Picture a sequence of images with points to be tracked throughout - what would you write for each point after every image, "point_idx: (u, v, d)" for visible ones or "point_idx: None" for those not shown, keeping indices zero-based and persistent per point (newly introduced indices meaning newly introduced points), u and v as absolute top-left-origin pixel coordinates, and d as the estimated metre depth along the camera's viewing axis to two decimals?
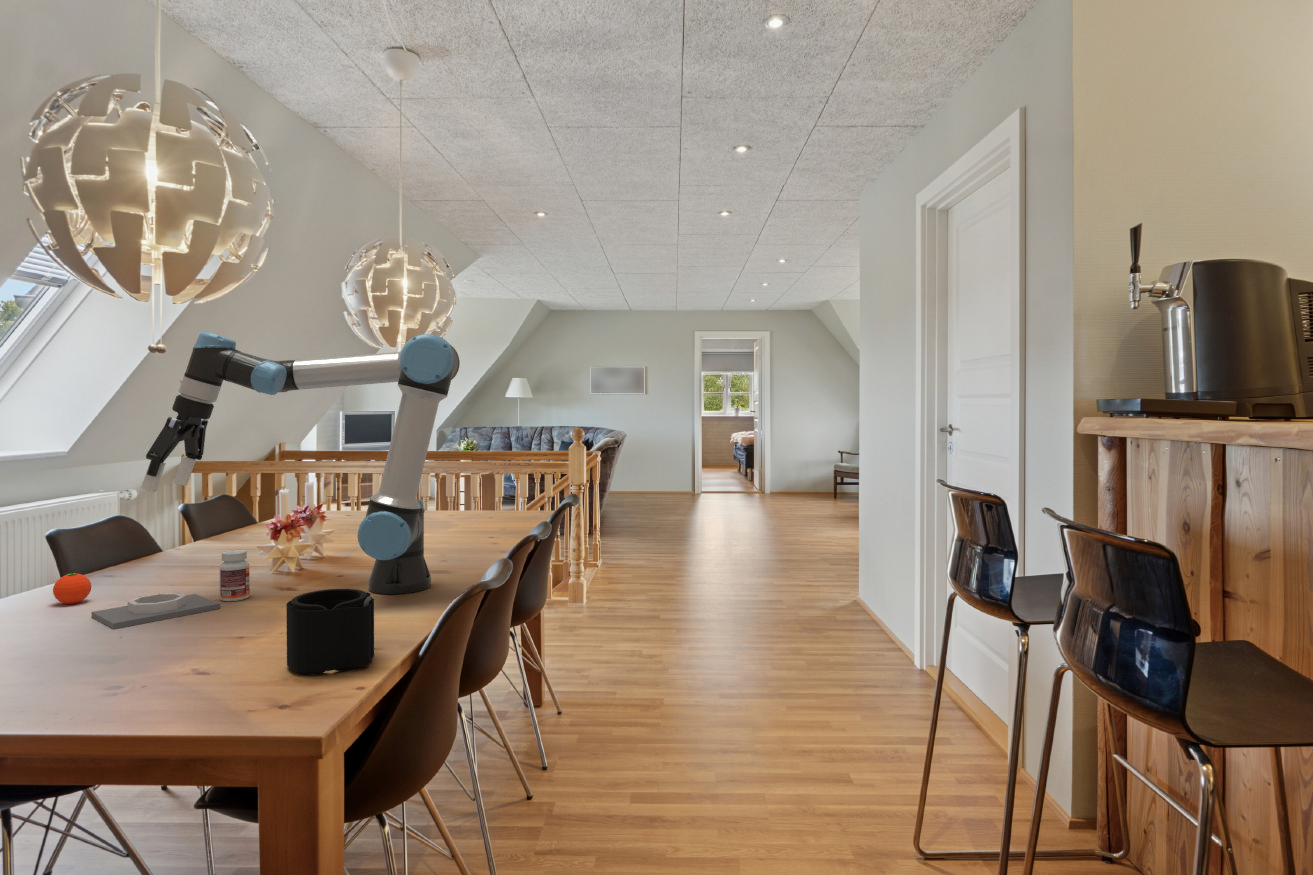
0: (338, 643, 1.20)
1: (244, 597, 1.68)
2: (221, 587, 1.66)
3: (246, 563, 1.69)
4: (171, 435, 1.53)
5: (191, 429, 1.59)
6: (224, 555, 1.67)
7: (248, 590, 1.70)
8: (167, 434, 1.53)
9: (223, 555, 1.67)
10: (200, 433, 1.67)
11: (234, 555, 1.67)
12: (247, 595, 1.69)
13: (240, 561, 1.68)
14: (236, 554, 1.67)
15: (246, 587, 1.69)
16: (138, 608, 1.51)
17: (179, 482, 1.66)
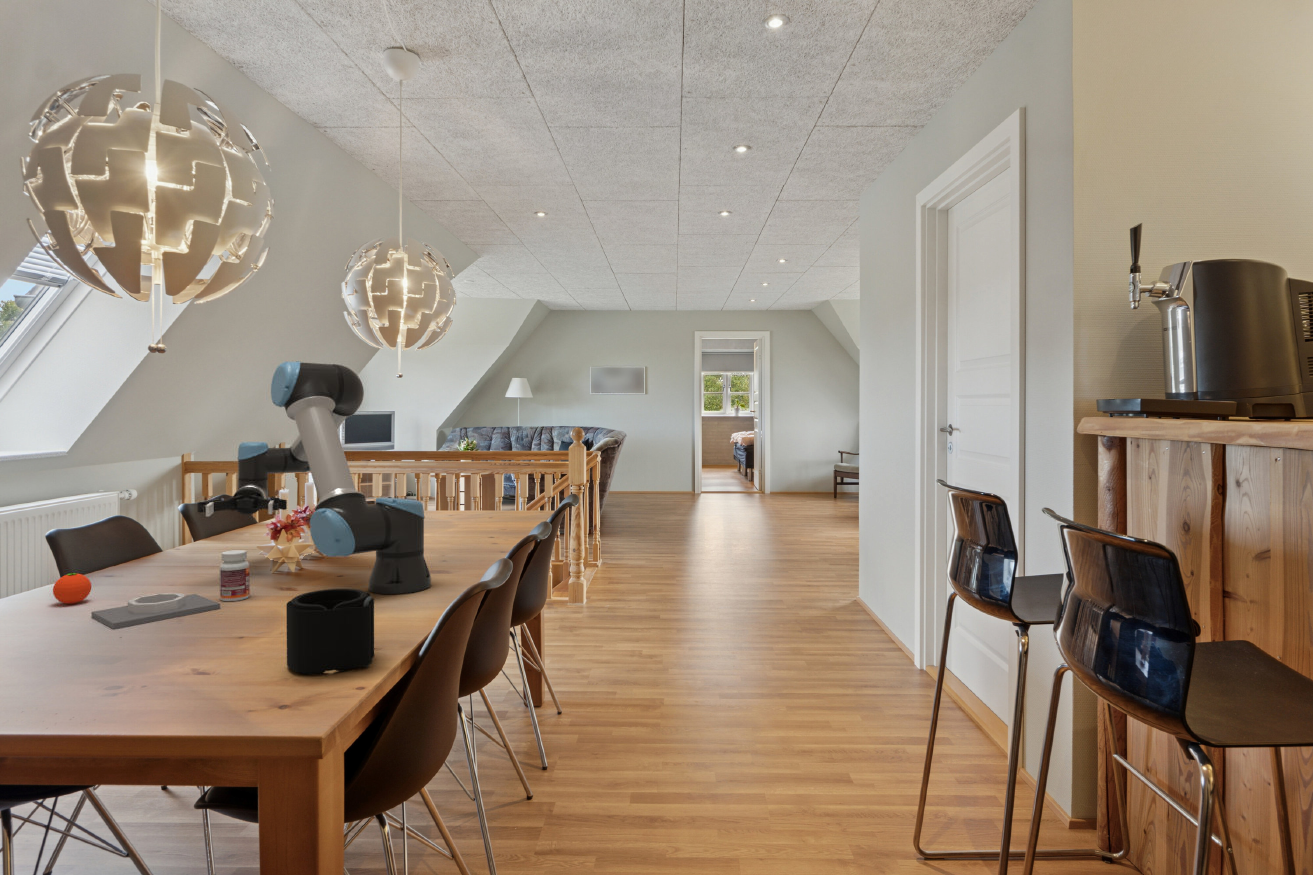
0: (338, 643, 1.20)
1: (244, 597, 1.68)
2: (221, 587, 1.66)
3: (246, 563, 1.69)
4: None
5: (238, 495, 1.89)
6: (224, 555, 1.67)
7: (248, 590, 1.70)
8: None
9: (223, 555, 1.67)
10: (272, 500, 1.91)
11: (234, 555, 1.67)
12: (247, 595, 1.69)
13: (240, 561, 1.68)
14: (236, 554, 1.67)
15: (246, 587, 1.69)
16: (138, 608, 1.51)
17: (268, 509, 1.80)
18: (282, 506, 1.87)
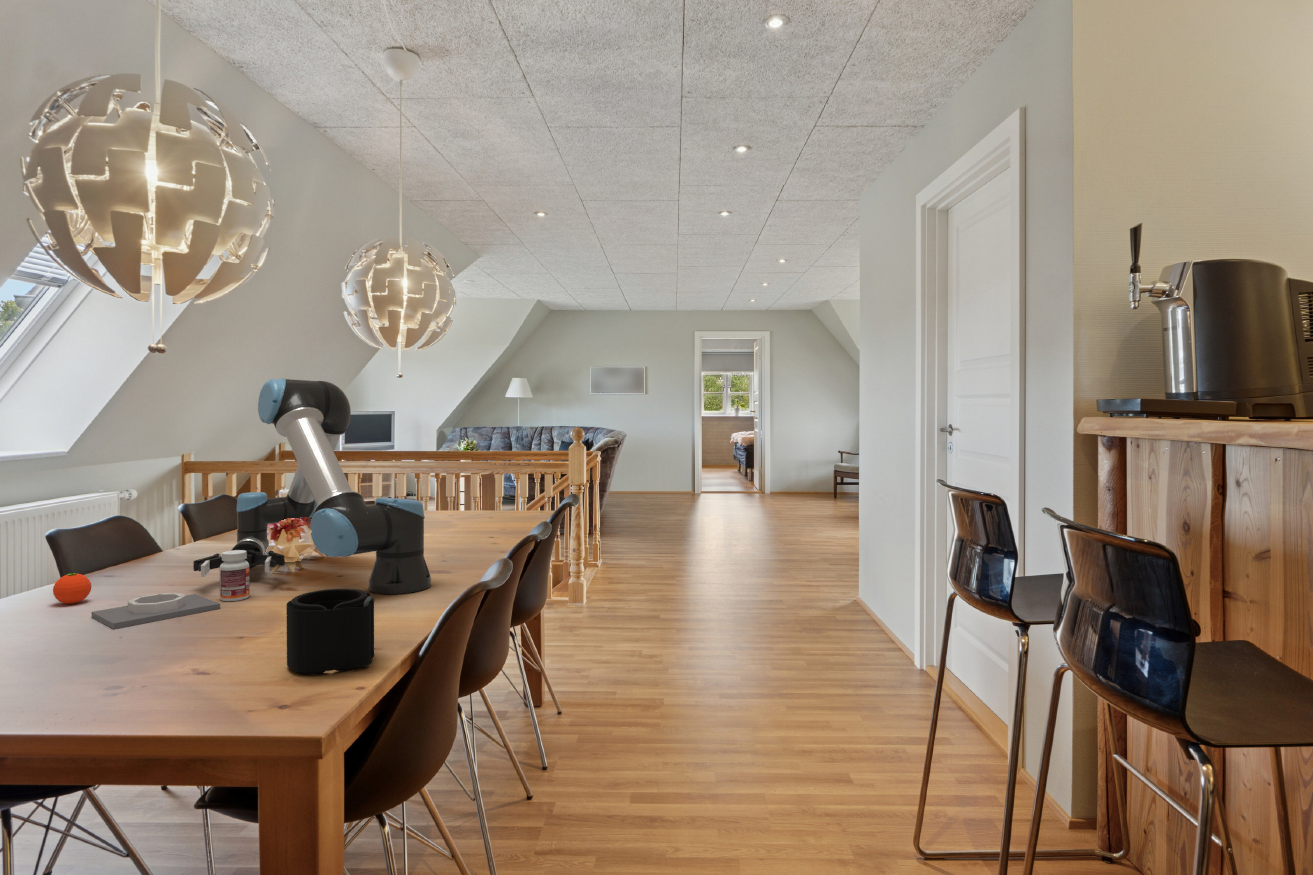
0: (338, 643, 1.20)
1: (244, 597, 1.68)
2: (221, 587, 1.66)
3: (246, 563, 1.69)
4: None
5: None
6: (224, 555, 1.67)
7: (248, 590, 1.70)
8: None
9: (223, 555, 1.67)
10: (270, 555, 1.87)
11: (234, 555, 1.67)
12: (247, 595, 1.69)
13: (240, 561, 1.68)
14: (236, 554, 1.67)
15: (246, 587, 1.69)
16: (138, 608, 1.51)
17: (265, 567, 1.76)
18: (280, 562, 1.83)
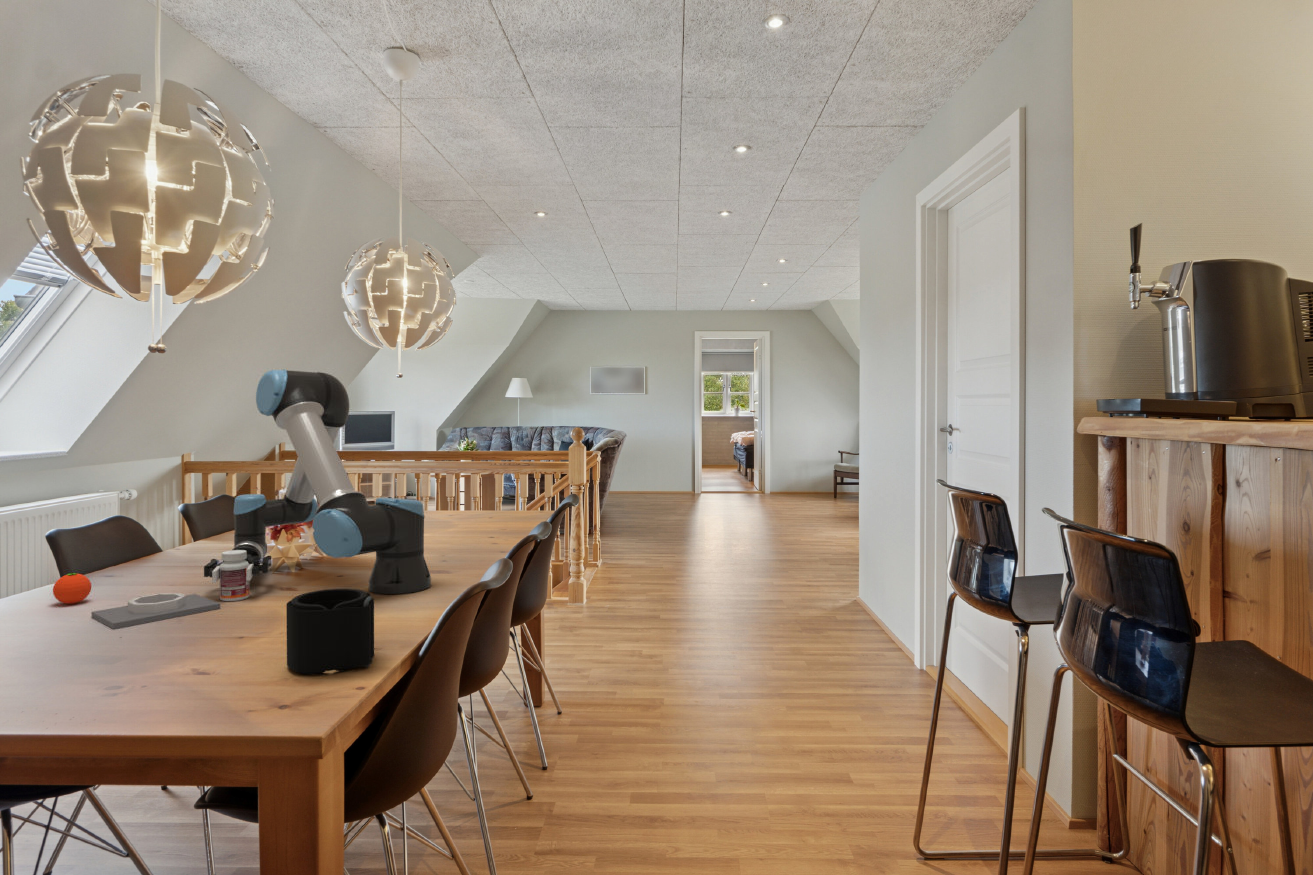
0: (338, 643, 1.20)
1: (244, 597, 1.68)
2: (221, 586, 1.66)
3: (246, 563, 1.69)
4: (210, 562, 1.74)
5: None
6: (224, 555, 1.67)
7: (248, 590, 1.70)
8: None
9: (223, 555, 1.67)
10: None
11: (234, 555, 1.67)
12: (247, 595, 1.69)
13: (240, 561, 1.68)
14: (236, 554, 1.67)
15: (246, 587, 1.69)
16: (138, 608, 1.51)
17: None
18: (262, 569, 1.73)
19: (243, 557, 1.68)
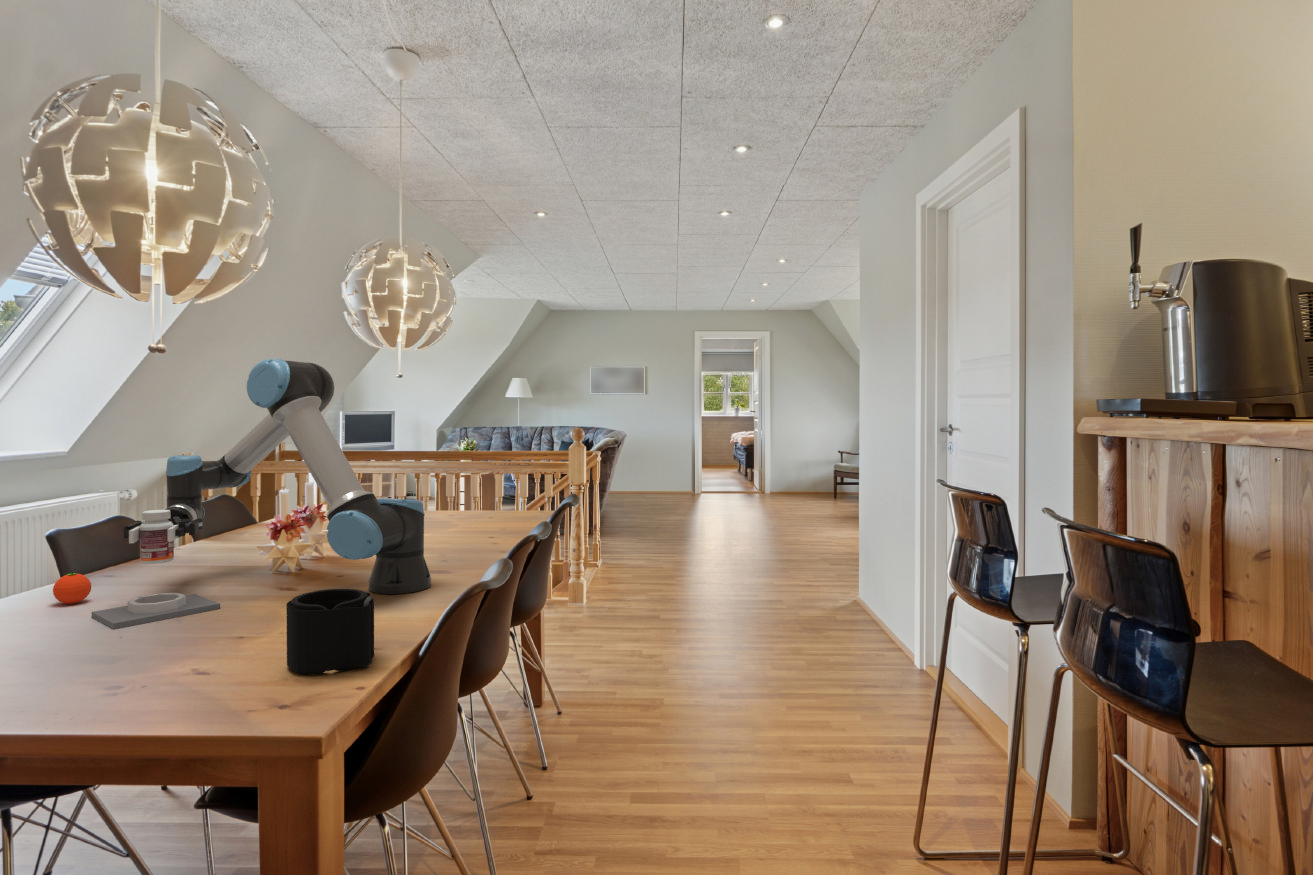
0: (338, 643, 1.20)
1: (166, 560, 1.55)
2: (141, 548, 1.54)
3: (169, 523, 1.56)
4: (132, 523, 1.61)
5: None
6: (144, 514, 1.54)
7: (172, 553, 1.57)
8: None
9: (143, 514, 1.54)
10: None
11: (155, 514, 1.54)
12: (170, 558, 1.56)
13: (162, 521, 1.55)
14: (157, 513, 1.54)
15: (169, 549, 1.56)
16: (138, 608, 1.51)
17: (168, 535, 1.53)
18: (188, 531, 1.60)
19: (166, 517, 1.55)
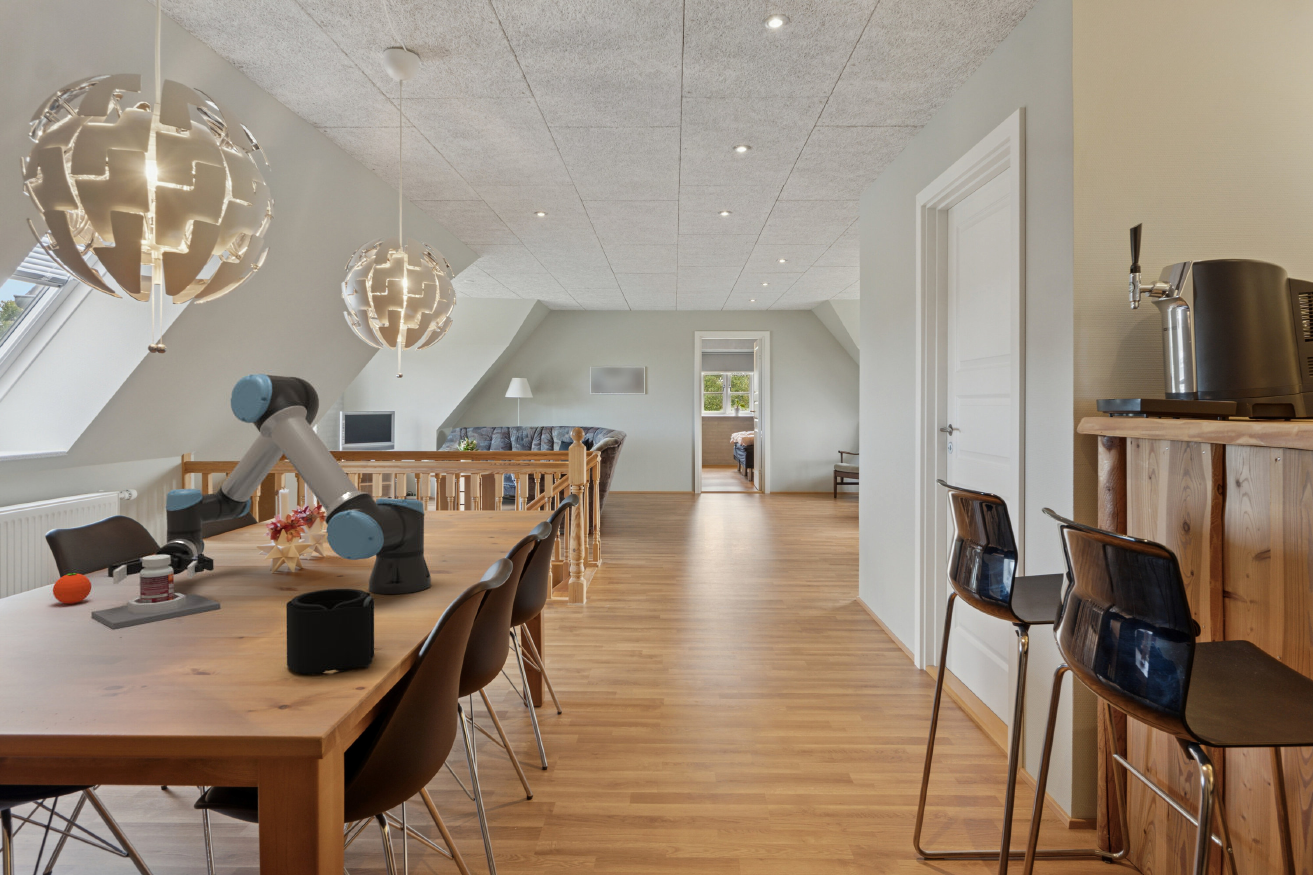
0: (338, 643, 1.20)
1: None
2: (141, 594, 1.54)
3: (169, 569, 1.56)
4: None
5: (160, 554, 1.66)
6: (144, 560, 1.54)
7: (172, 598, 1.57)
8: None
9: (143, 560, 1.54)
10: None
11: (155, 560, 1.54)
12: None
13: (162, 567, 1.55)
14: (158, 559, 1.54)
15: (170, 595, 1.56)
16: (138, 608, 1.51)
17: None
18: (208, 567, 1.63)
19: (166, 563, 1.55)
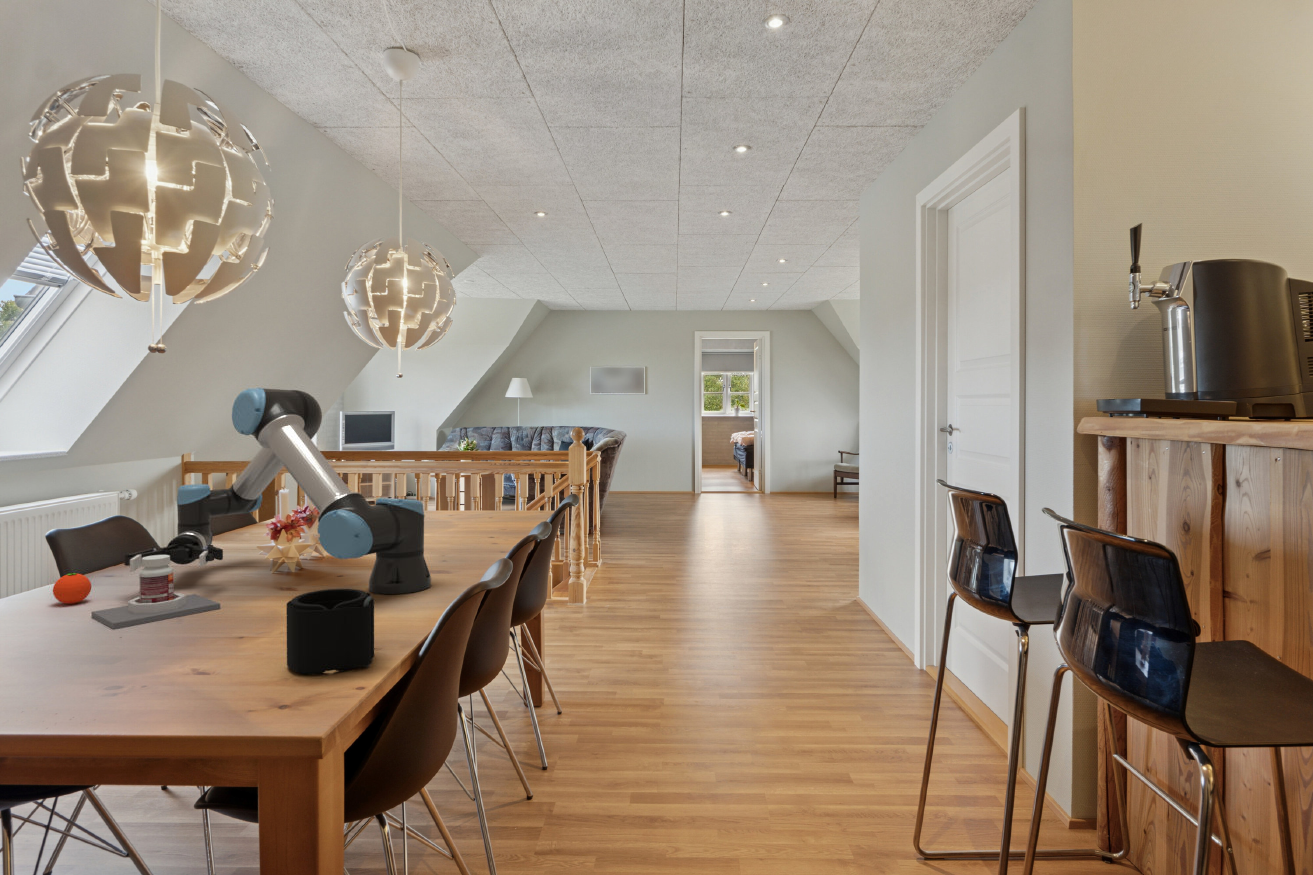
0: (338, 643, 1.20)
1: None
2: (141, 595, 1.54)
3: (169, 569, 1.56)
4: None
5: (172, 545, 1.77)
6: (144, 560, 1.54)
7: (172, 598, 1.57)
8: None
9: (143, 560, 1.54)
10: (208, 549, 1.79)
11: (155, 560, 1.54)
12: None
13: (162, 567, 1.55)
14: (157, 559, 1.54)
15: (170, 594, 1.56)
16: (138, 608, 1.51)
17: None
18: (217, 556, 1.75)
19: (165, 562, 1.56)
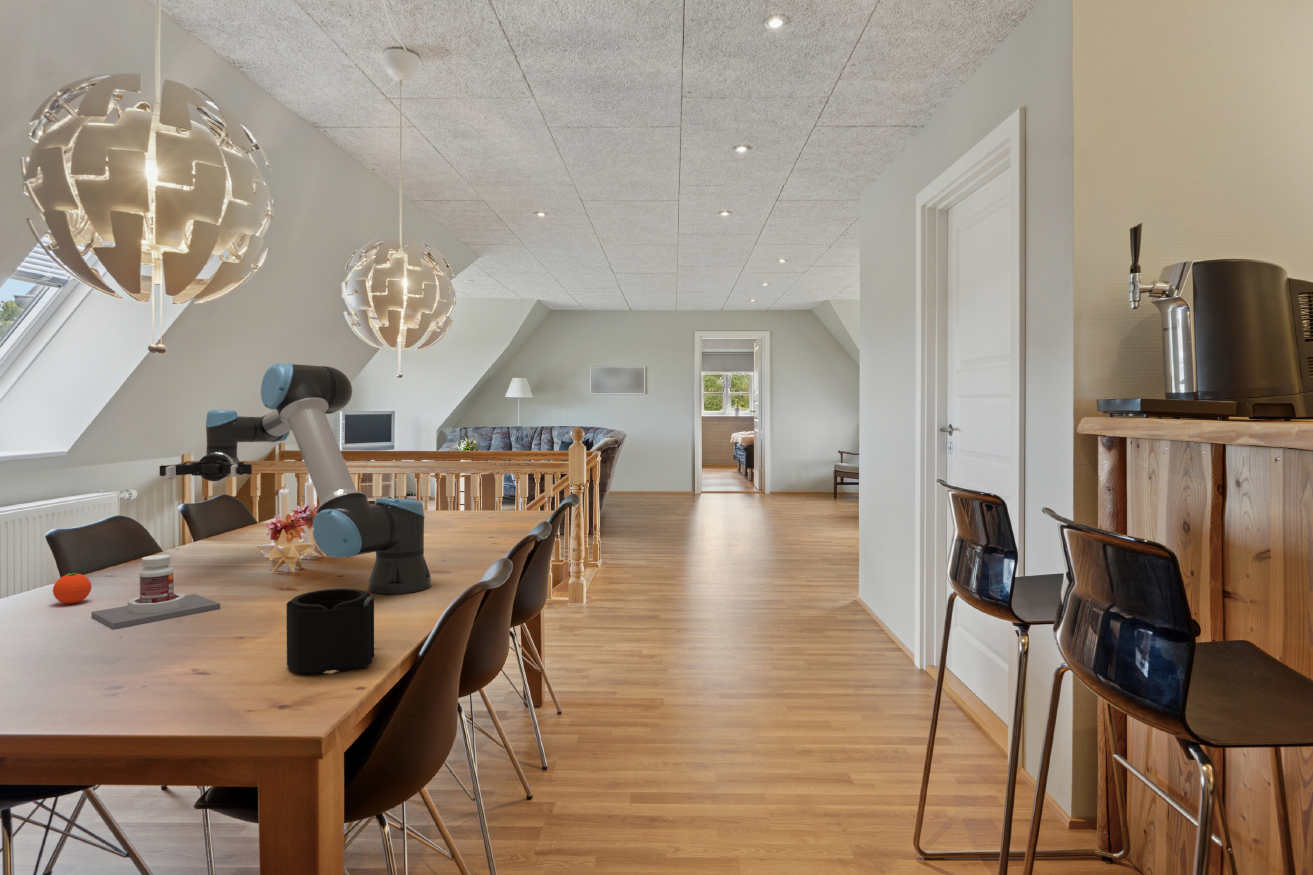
0: (338, 643, 1.20)
1: None
2: (141, 595, 1.54)
3: (169, 569, 1.56)
4: None
5: (203, 461, 1.86)
6: (144, 560, 1.54)
7: (172, 598, 1.57)
8: None
9: (143, 560, 1.54)
10: None
11: (155, 560, 1.54)
12: None
13: (162, 567, 1.55)
14: (157, 559, 1.54)
15: (170, 595, 1.56)
16: (138, 608, 1.51)
17: (231, 471, 1.77)
18: (247, 470, 1.84)
19: (166, 563, 1.56)
